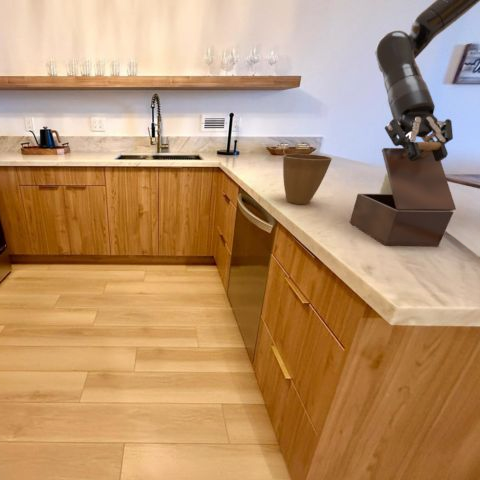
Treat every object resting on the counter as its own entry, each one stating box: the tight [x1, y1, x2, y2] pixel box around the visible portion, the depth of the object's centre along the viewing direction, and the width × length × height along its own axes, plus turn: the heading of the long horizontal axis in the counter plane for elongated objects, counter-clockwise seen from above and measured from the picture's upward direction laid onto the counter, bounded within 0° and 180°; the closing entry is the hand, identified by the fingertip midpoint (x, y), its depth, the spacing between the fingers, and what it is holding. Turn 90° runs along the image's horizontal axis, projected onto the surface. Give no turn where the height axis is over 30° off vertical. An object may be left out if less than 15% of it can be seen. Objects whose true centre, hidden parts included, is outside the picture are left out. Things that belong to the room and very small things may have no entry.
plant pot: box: [282, 153, 333, 205], centre depth 100 cm, size 15×15×16 cm
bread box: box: [349, 193, 454, 247], centre depth 75 cm, size 16×13×9 cm
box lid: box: [381, 141, 457, 212], centre depth 66 cm, size 16×13×6 cm
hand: (428, 158), depth 65 cm, fingers closed on box lid, 5 cm apart
